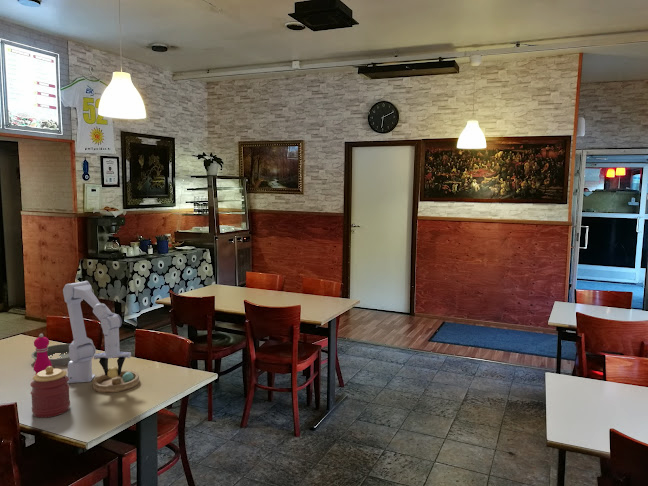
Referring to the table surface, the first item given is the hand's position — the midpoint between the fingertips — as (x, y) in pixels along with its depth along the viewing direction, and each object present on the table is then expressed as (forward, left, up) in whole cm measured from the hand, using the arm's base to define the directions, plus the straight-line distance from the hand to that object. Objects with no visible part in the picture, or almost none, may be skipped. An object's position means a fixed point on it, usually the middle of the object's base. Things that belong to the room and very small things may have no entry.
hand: (113, 374), depth 211 cm
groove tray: (0, +5, -6) cm, 8 cm away
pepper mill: (-35, +19, -6) cm, 40 cm away
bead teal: (+5, +5, -6) cm, 9 cm away
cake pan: (-36, +43, -7) cm, 56 cm away
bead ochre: (0, 0, -1) cm, 1 cm away
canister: (-18, -19, -7) cm, 27 cm away
